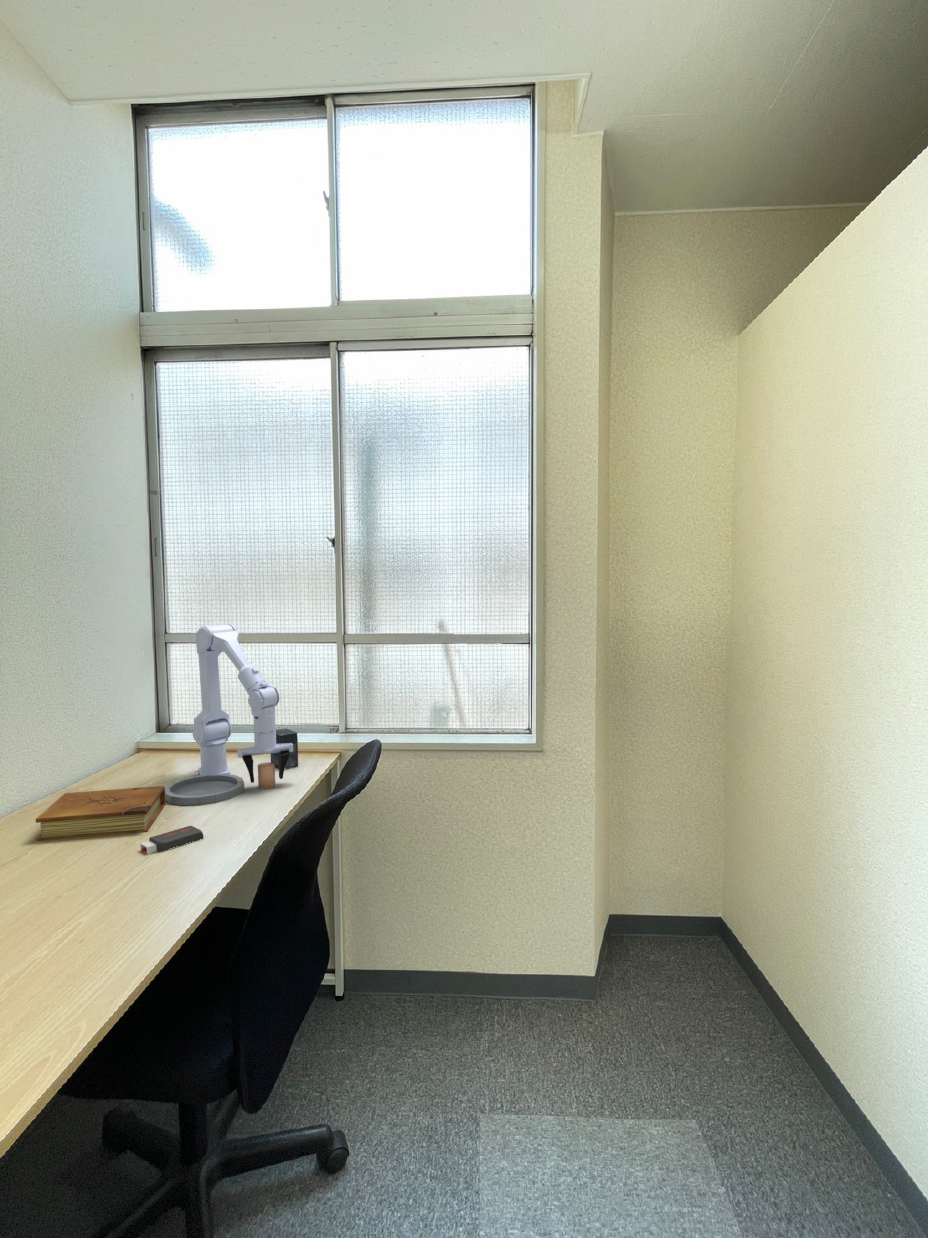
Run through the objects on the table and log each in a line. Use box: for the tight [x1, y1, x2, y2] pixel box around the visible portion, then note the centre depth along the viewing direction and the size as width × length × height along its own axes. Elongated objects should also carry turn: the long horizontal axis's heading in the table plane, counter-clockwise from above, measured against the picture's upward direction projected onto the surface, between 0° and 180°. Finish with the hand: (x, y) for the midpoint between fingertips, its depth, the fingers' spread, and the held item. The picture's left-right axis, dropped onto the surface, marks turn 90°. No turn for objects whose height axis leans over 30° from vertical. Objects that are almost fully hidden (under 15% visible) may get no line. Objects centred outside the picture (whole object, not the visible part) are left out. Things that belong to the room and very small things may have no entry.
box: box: [270, 728, 299, 770], centre depth 209 cm, size 8×6×11 cm
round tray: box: [164, 774, 245, 806], centre depth 185 cm, size 20×20×2 cm
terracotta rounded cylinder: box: [257, 761, 276, 790], centre depth 190 cm, size 4×4×6 cm
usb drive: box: [140, 825, 205, 855], centre depth 150 cm, size 5×12×3 cm, turn 138°
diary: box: [35, 785, 167, 842], centre depth 164 cm, size 23×19×6 cm
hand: (266, 779), depth 190 cm, fingers open, 7 cm apart
